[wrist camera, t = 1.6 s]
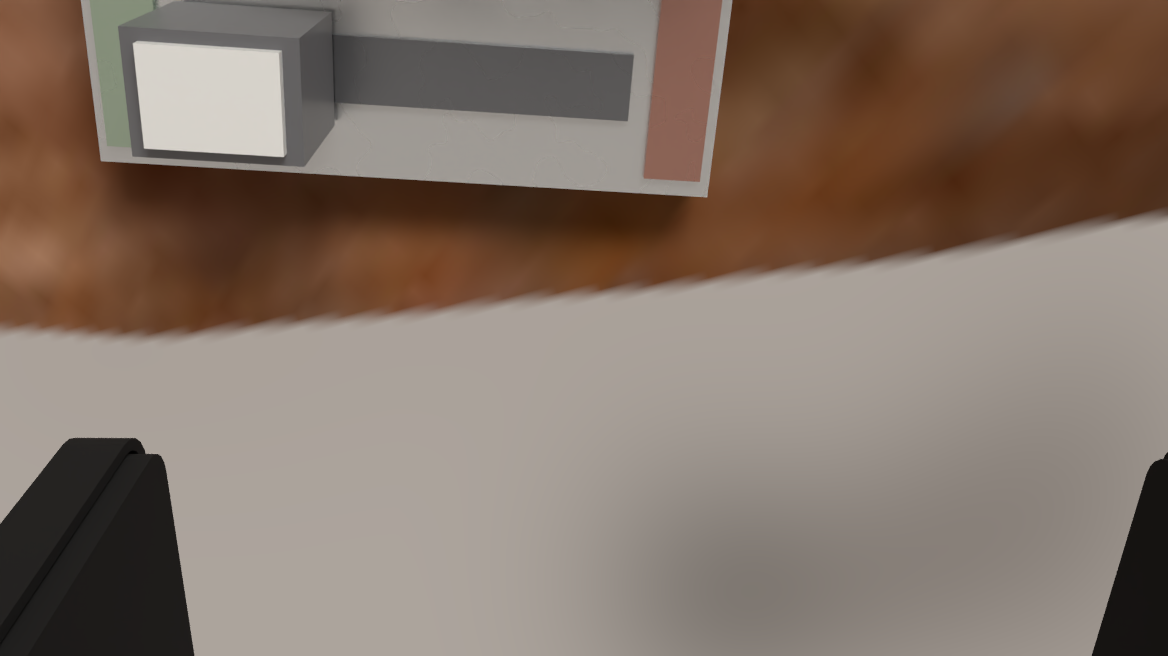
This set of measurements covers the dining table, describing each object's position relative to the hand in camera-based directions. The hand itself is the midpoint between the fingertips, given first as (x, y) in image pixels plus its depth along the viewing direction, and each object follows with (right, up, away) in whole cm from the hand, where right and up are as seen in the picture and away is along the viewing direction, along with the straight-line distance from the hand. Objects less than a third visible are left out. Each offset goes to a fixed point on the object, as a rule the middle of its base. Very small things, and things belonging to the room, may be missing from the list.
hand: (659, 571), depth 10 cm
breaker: (-9, +9, +18) cm, 22 cm away
